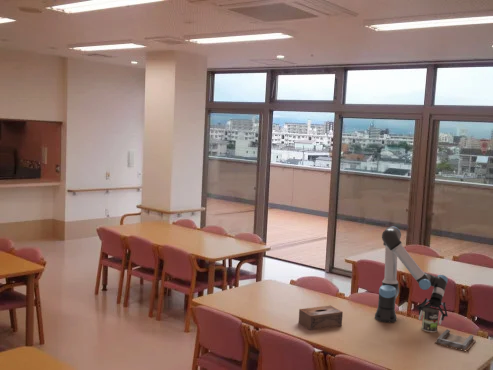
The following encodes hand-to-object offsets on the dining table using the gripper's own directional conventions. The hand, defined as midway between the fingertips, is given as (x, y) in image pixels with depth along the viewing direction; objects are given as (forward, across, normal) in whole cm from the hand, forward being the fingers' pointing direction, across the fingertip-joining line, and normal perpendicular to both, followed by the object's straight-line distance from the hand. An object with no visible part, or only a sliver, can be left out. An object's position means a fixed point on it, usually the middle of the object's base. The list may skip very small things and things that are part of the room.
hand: (429, 321), depth 367 cm
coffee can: (+3, 0, -6) cm, 7 cm away
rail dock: (+11, -20, +3) cm, 23 cm away
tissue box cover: (+33, +62, +24) cm, 74 cm away
